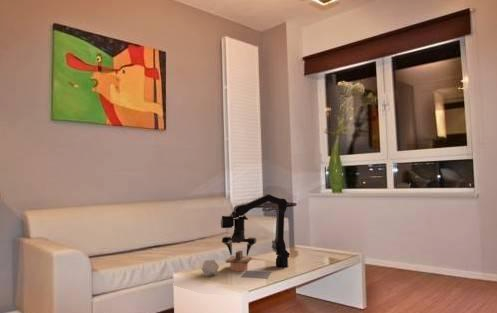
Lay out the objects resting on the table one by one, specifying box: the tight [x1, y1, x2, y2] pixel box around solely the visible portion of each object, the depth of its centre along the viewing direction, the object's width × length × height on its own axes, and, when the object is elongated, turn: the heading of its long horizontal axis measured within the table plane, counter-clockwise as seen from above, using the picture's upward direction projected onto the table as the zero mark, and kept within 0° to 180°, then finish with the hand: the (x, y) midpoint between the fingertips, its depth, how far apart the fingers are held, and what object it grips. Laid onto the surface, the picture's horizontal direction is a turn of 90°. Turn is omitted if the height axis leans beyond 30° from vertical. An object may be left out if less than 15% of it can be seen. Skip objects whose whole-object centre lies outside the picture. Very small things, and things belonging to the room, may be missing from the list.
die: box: [201, 259, 220, 277], centre depth 194 cm, size 8×9×10 cm
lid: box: [225, 250, 253, 264], centre depth 207 cm, size 12×12×5 cm
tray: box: [240, 270, 272, 280], centre depth 194 cm, size 14×14×1 cm
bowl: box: [229, 262, 249, 272], centre depth 206 cm, size 10×10×5 cm
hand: (239, 255), depth 207 cm, fingers open, 9 cm apart
